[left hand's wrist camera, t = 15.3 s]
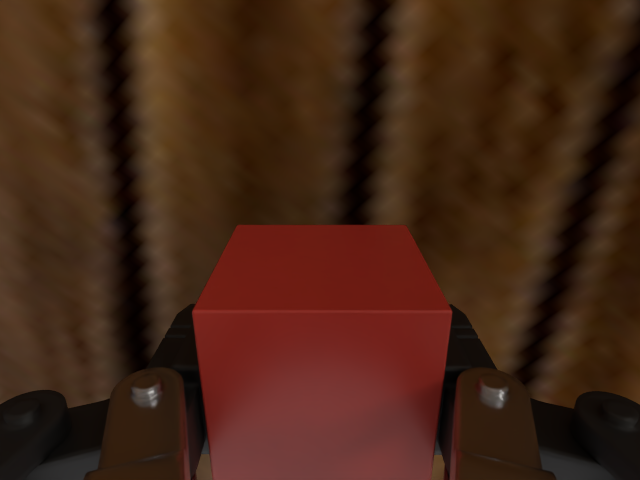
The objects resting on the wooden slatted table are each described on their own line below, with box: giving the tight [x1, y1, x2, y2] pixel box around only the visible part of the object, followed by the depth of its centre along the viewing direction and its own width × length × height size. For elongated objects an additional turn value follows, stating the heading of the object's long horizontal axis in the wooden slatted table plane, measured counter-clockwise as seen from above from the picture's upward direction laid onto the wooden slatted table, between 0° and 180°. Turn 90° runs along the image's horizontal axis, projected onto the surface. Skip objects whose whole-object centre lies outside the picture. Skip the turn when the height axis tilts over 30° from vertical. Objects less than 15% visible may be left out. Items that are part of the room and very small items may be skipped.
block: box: [192, 225, 452, 480], centre depth 11 cm, size 4×5×4 cm
